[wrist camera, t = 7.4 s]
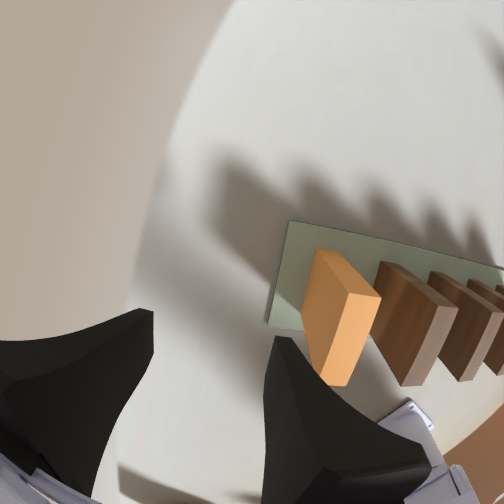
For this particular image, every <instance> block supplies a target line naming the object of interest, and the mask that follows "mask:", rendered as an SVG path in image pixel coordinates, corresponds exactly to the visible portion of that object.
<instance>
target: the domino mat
mask: <svg viewBox="0 0 504 504" xmlns="http://www.w3.org/2000/svg"><path fill="white" fill-rule="evenodd" d="M316 248H320V249H325V250H331V251H336V252H339V253H340V254H341V255H342V256H343V257H344V259H345V260H346V261H347V262H348V263H349V264H350V265H351V266H352V267H353V268H354V269H355V270H356V271H357V272H358V273H359V274H360V275H361V276H362V277H363V278H364V279H365V280H366V281H367V282H368V284H369V285H370V286H371V287H372V288H373V285H374V282H375V278H376V275H377V271H378V268H379V264H380V261H386V262H391V263H396V264H399V265H400V266H402V267H403V268H405V269H406V270H408V271H409V272H411V273H412V274H413V275H415V276H416V277H418V278H419V279H420V280H422V281H423V282H425V283H426V284H427V281H428V278H429V275H430V272H431V271H435V272H440V273H445V274H446V275H448V276H449V277H451V278H453V279H454V280H456V281H458V282H459V283H461V284H462V285H464V286H465V287H466V285H467V282H468V279H474V280H478V281H480V282H482V283H484V284H485V285H487V286H489V287H490V288H492V289H494V290H495V288H496V285H501V286H504V270H501V269H497V268H494V267H490V266H487V265H483V264H480V263H476V262H472V261H469V260H465V259H461V258H458V257H454V256H450V255H446V254H442V253H438V252H434V251H430V250H426V249H422V248H418V247H414V246H410V245H405V244H401V243H397V242H392V241H388V240H384V239H379V238H375V237H370V236H366V235H361V234H356V233H352V232H347V231H342V230H337V229H332V228H327V227H322V226H317V225H312V224H307V223H302V222H296V221H291V220H289V224H288V229H287V234H286V240H285V245H284V250H283V255H282V260H281V264H280V269H279V274H278V279H277V284H276V288H275V293H274V298H273V302H272V307H271V312H270V316H269V321H268V327H275V328H281V329H288V330H295V331H303V332H304V327H303V323H302V319H301V315H300V311H301V307H302V304H303V300H304V296H305V292H306V288H307V284H308V280H309V276H310V272H311V268H312V264H313V260H314V255H315V251H316ZM367 338H368V339H372V337H371V336H370V334H368V337H367Z"/></svg>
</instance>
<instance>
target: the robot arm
mask: <svg viewBox="0 0 504 504" xmlns="http://www.w3.org/2000/svg"><path fill="white" fill-rule="evenodd" d="M153 313H154V312H153V311H149V310H145V309H141V308H138V309H135V310H132V311H130V312H127V313H125V314H122V315H120V316H117V317H115V318H113V319H110V320H108V321H105V322H103V323H100V324H97V325H95V326H92V327H89V328H86V329H83V330H80V331H77V332H74V333H70V334H65V335H62V336H57V337H51V338H44V339H37V340H25V341H1V340H0V504H51V503H50V502H49V501H48V500H47V499H46V498H44V497H43V496H42V495H40V494H39V493H38V492H36V491H35V490H33V488H31V487H30V486H29V485H31V486H32V487H34V488H35V489H37V490H38V491H39V492H41V493H43V494H44V495H46V496H47V497H48V498H50V499H52V500H53V501H55V502H56V503H58V504H102V503H99V502H97V501H95V500H93V499H91V494H92V490H93V486H94V482H95V478H96V474H97V471H98V467H99V465H100V462H101V458H102V456H103V453H104V450H105V447H106V445H107V442H108V440H109V437H110V435H111V432H112V430H113V428H114V425H115V423H116V421H117V419H118V417H119V415H120V413H121V411H122V409H123V408H124V406H125V404H126V403H127V401H128V400H129V398H130V396H131V395H132V393H133V392H134V390H135V388H136V387H137V385H138V384H139V382H140V380H141V379H142V377H143V375H144V374H145V372H146V370H147V368H148V365H149V363H150V361H151V358H152V356H153V354H154V341H153ZM263 403H264V422H265V441H266V454H265V467H264V479H263V489H262V498H261V504H480V503H479V500H478V498H477V496H476V494H475V492H474V490H473V488H472V486H471V484H470V482H469V480H468V478H467V476H466V474H465V472H464V470H463V469H462V467H461V465H455V464H453V465H452V466H451V467H450V468H449V467H448V466H447V465H446V463H445V461H444V459H443V457H442V455H441V453H440V451H439V449H438V447H437V445H436V443H435V441H434V439H433V437H432V435H431V433H430V431H431V430H432V429H433V428H434V427H435V425H434V424H433V422H432V421H431V420H430V419H429V418H428V417H427V416H426V415H425V414H424V413H423V412H422V410H421V409H420V408H419V407H418V406H417V405H416V404H415V403H414V402H413V401H408V402H407V403H405V404H404V405H403V406H401V407H400V408H399V409H397V410H396V411H394V412H393V413H392V414H390V415H389V416H387V417H386V418H384V419H383V420H381V421H380V422H378V423H375V422H373V421H372V420H370V419H368V418H367V417H365V416H364V415H363V414H361V413H360V412H358V411H357V410H355V409H354V408H353V407H352V406H350V405H349V404H348V403H347V402H345V401H344V400H343V399H342V398H341V397H340V396H339V395H337V394H336V393H335V392H334V391H333V390H332V389H331V388H330V387H329V386H328V385H327V384H326V383H325V381H324V380H323V379H322V378H321V377H320V376H319V375H318V374H317V372H316V371H315V370H314V369H313V367H312V366H311V365H310V364H309V362H308V361H307V360H306V358H305V357H304V355H303V354H302V353H301V351H300V350H299V348H298V347H297V345H296V344H295V342H294V341H293V340H292V338H289V337H282V336H275V339H274V343H273V347H272V351H271V355H270V359H269V363H268V366H267V370H266V374H265V382H264V394H263ZM28 484H29V485H28Z"/></svg>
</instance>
